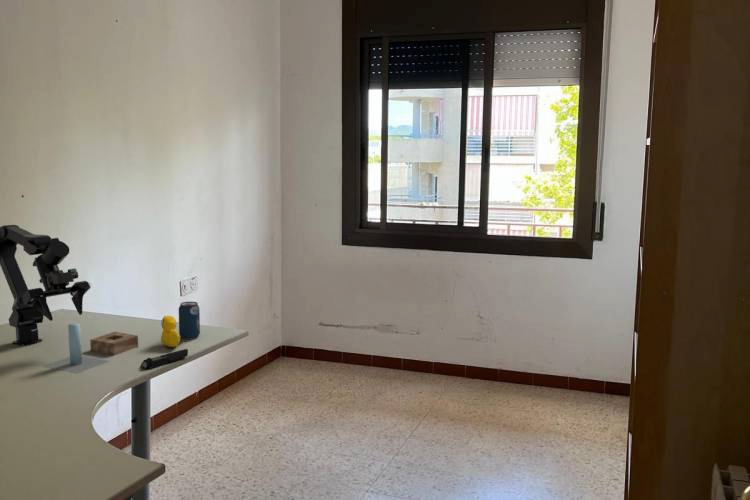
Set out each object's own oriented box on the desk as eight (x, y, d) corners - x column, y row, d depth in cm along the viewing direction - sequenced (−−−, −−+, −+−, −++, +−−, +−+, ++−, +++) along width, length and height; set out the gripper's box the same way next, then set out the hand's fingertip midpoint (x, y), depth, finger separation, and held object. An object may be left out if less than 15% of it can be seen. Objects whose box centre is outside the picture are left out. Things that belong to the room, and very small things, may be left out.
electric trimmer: (191, 359, 197) (191, 349, 196) (147, 371, 184) (146, 360, 184) (183, 356, 199) (183, 347, 199) (139, 368, 187) (139, 358, 186)
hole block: (90, 351, 200) (90, 339, 200) (114, 343, 210) (114, 331, 209) (114, 356, 197) (114, 343, 196) (138, 347, 206) (137, 335, 205)
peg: (67, 364, 187) (65, 325, 185) (76, 361, 190) (74, 322, 188) (75, 365, 186) (73, 326, 184) (84, 362, 189) (82, 324, 187)
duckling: (157, 342, 211) (156, 313, 210) (173, 340, 214) (172, 311, 213) (166, 351, 202) (165, 321, 201) (183, 349, 205) (182, 319, 204)
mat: (41, 367, 185) (41, 366, 185) (75, 355, 196) (75, 354, 196) (77, 374, 180) (76, 373, 180) (109, 362, 191) (109, 361, 191)
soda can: (202, 338, 218) (202, 304, 216) (182, 341, 214) (182, 306, 212) (196, 333, 223) (195, 300, 221) (176, 336, 219) (175, 302, 218)
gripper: (28, 264, 183) (46, 311, 180) (89, 256, 198) (106, 300, 195) (14, 281, 190) (31, 327, 186) (74, 272, 205) (91, 315, 201)
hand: (66, 317), depth 192 cm, fingers open, 9 cm apart
